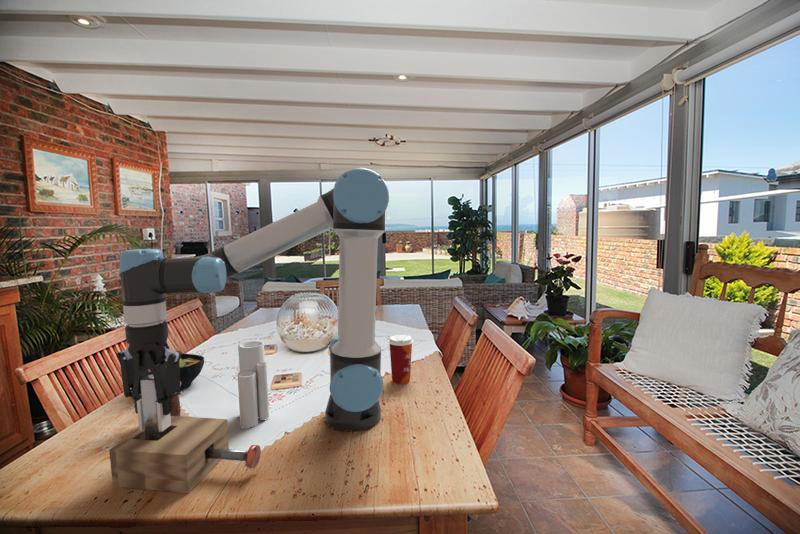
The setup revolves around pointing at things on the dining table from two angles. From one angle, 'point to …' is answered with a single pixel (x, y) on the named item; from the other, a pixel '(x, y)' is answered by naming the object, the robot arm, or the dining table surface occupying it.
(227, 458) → the lock pin
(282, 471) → the dining table surface
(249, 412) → the vase
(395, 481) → the dining table surface
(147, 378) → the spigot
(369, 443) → the dining table surface
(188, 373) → the bowl
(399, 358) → the coffee cup
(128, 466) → the dock
